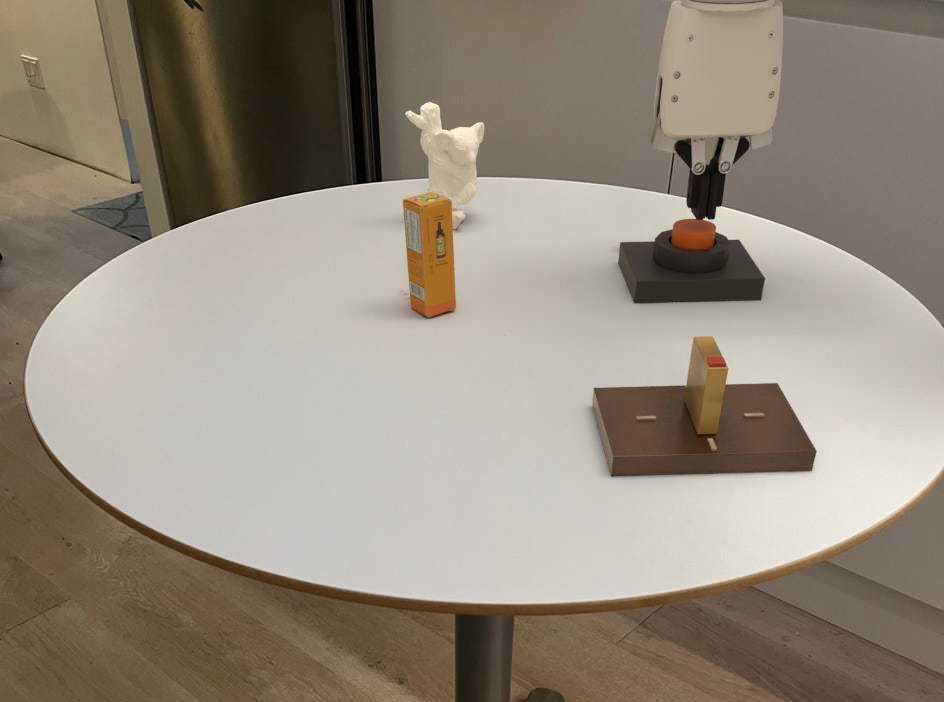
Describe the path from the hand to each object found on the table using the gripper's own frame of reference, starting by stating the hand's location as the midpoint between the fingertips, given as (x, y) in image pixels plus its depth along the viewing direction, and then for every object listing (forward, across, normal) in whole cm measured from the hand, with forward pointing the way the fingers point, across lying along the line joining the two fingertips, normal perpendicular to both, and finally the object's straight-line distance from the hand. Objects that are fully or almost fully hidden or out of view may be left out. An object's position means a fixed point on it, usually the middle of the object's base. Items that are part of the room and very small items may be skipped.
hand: (702, 214), depth 94 cm
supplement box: (+6, +26, +5) cm, 27 cm away
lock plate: (+7, +7, +32) cm, 33 cm away
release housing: (+6, +1, 0) cm, 7 cm away
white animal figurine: (+6, +24, -18) cm, 31 cm away
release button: (+3, +1, 0) cm, 3 cm away
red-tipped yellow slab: (+4, +7, +32) cm, 33 cm away
